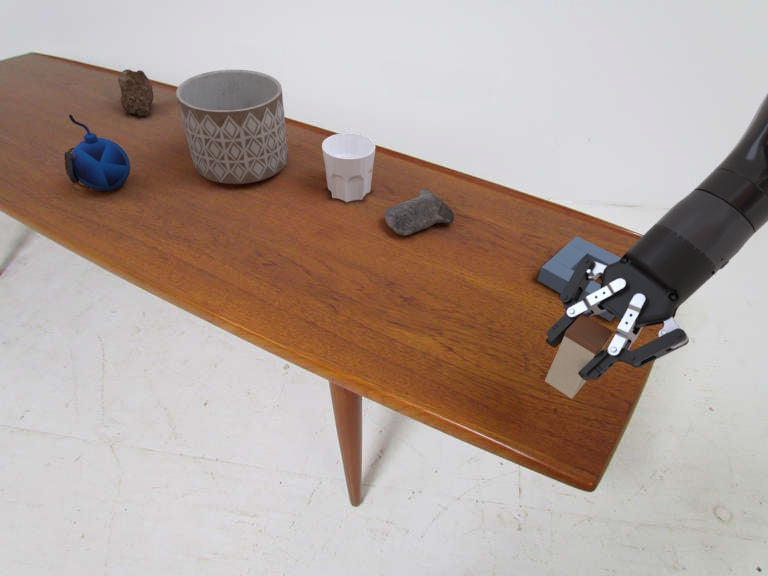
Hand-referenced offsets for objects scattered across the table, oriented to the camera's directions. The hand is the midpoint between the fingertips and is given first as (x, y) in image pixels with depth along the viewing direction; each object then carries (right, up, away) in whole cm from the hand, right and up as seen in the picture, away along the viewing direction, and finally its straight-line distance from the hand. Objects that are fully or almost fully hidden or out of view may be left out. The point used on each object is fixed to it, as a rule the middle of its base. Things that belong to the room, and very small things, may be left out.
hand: (566, 360), depth 55 cm
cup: (-27, +28, +45) cm, 60 cm away
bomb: (-75, +28, +43) cm, 90 cm away
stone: (-14, +21, +39) cm, 46 cm away
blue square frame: (+14, +9, +28) cm, 33 cm away
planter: (-50, +34, +50) cm, 79 cm away
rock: (-79, +52, +67) cm, 116 cm away
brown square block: (+1, -3, +4) cm, 6 cm away
